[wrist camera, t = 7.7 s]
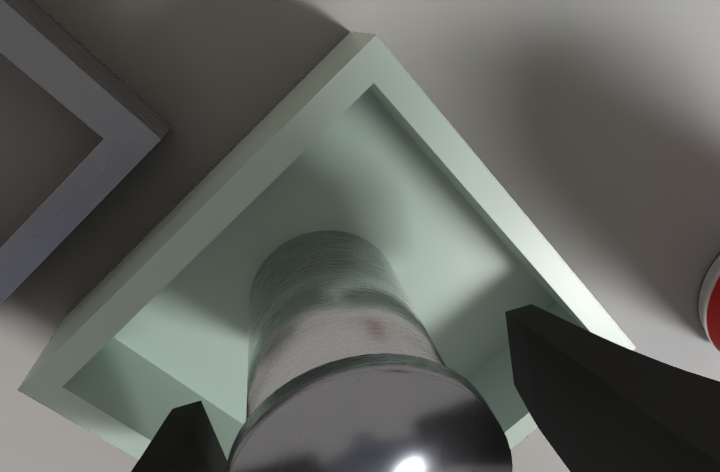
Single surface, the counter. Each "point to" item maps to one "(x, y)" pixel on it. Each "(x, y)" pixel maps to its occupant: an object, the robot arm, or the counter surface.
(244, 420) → the bin
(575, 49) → the counter surface
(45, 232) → the socket collar
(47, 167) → the counter surface
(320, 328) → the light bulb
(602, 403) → the robot arm
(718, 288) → the soda can
